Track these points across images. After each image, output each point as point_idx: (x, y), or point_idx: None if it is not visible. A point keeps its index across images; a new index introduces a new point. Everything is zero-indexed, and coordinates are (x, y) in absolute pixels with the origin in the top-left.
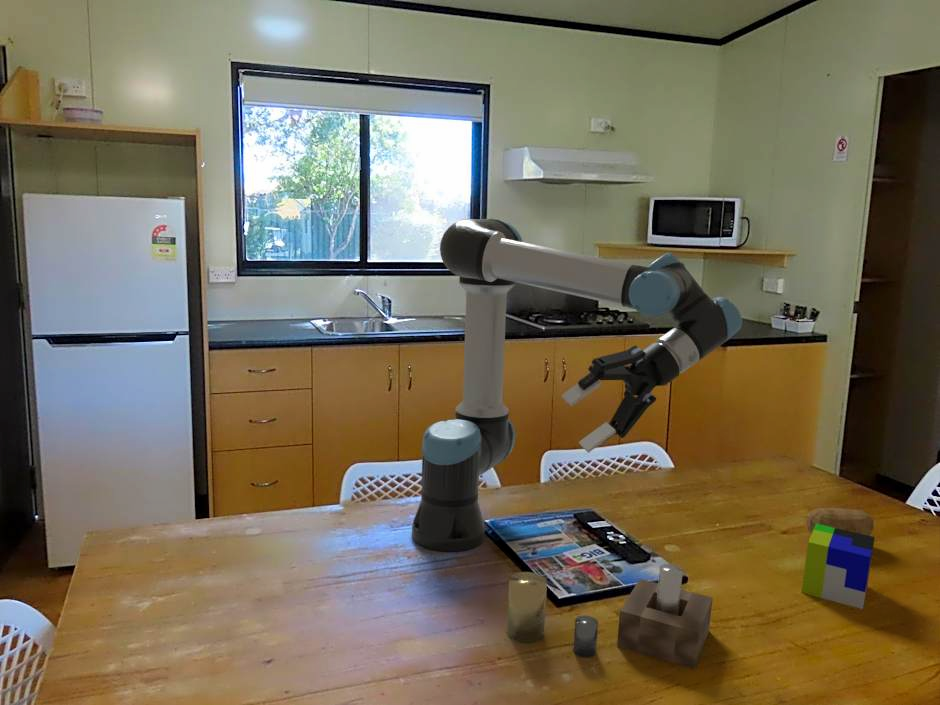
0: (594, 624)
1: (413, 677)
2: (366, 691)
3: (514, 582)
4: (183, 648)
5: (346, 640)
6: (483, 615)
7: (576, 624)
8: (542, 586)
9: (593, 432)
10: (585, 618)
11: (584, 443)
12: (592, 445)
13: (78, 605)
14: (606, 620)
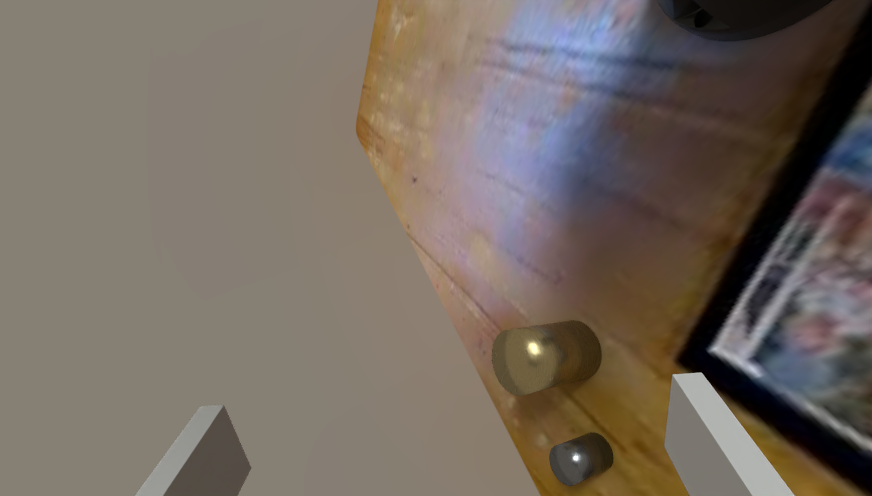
0: (565, 480)
1: (458, 291)
2: (432, 273)
3: (499, 345)
4: (394, 121)
5: (454, 195)
6: (569, 271)
7: (552, 449)
8: (514, 391)
9: (741, 494)
10: (569, 461)
11: (678, 419)
12: (686, 482)
13: (378, 9)
14: None
